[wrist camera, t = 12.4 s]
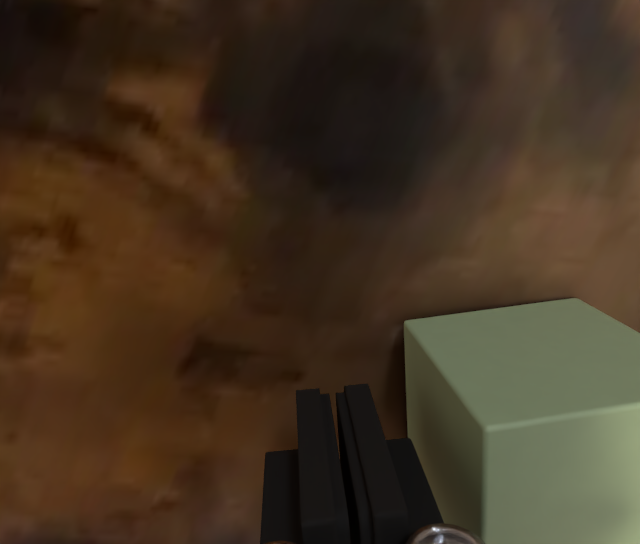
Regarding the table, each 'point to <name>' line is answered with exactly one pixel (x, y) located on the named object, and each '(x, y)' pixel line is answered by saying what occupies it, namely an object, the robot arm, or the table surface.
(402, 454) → the robot arm
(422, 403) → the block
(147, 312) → the table surface
